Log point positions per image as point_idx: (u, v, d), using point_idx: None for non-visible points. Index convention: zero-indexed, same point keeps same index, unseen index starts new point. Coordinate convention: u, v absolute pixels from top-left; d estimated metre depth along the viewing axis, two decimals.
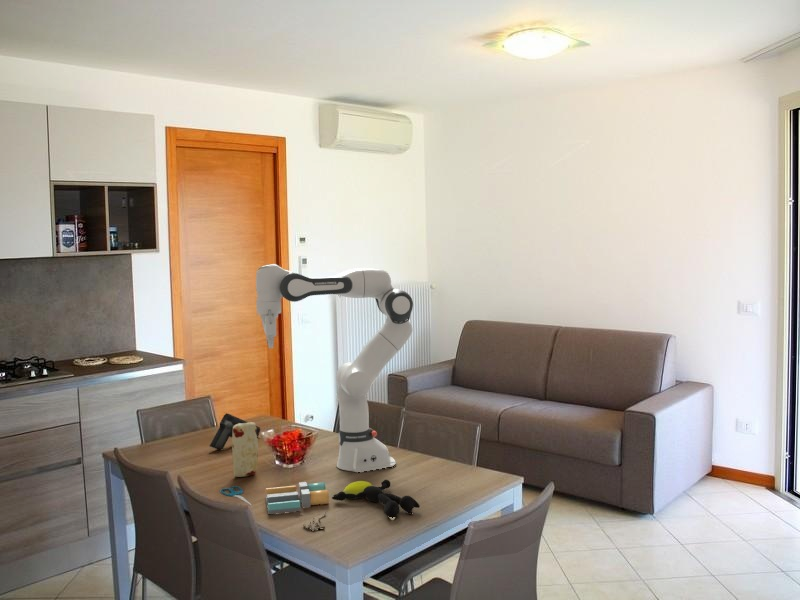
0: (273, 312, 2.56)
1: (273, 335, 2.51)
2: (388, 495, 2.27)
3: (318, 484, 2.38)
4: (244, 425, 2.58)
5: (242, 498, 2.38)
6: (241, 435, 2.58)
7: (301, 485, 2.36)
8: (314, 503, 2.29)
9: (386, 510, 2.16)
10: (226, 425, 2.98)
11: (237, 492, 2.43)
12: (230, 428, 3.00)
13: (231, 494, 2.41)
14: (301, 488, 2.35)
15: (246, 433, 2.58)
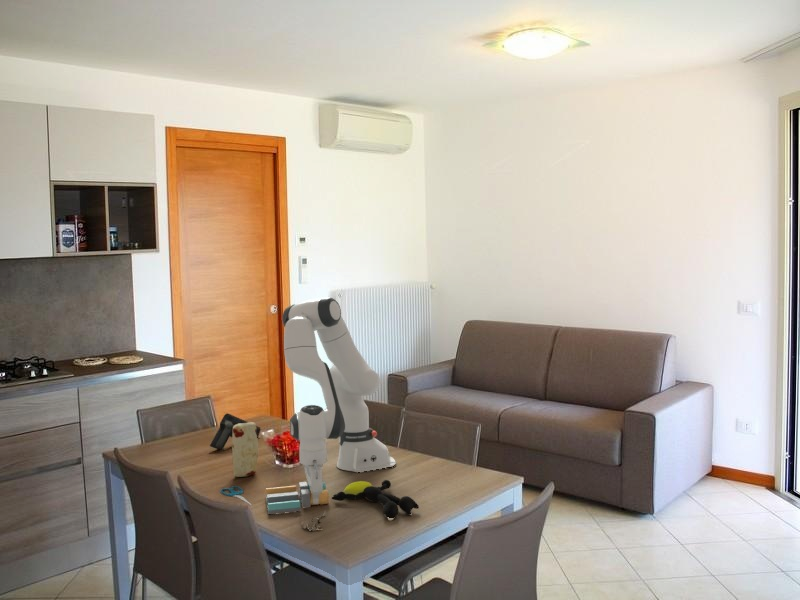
0: (318, 462, 2.26)
1: (319, 492, 2.21)
2: (387, 495, 2.26)
3: None
4: (244, 425, 2.58)
5: (242, 498, 2.38)
6: (241, 435, 2.58)
7: (301, 485, 2.36)
8: None
9: (385, 511, 2.16)
10: (226, 425, 2.98)
11: (237, 492, 2.43)
12: (230, 428, 3.00)
13: (231, 494, 2.41)
14: (301, 488, 2.35)
15: (246, 433, 2.58)
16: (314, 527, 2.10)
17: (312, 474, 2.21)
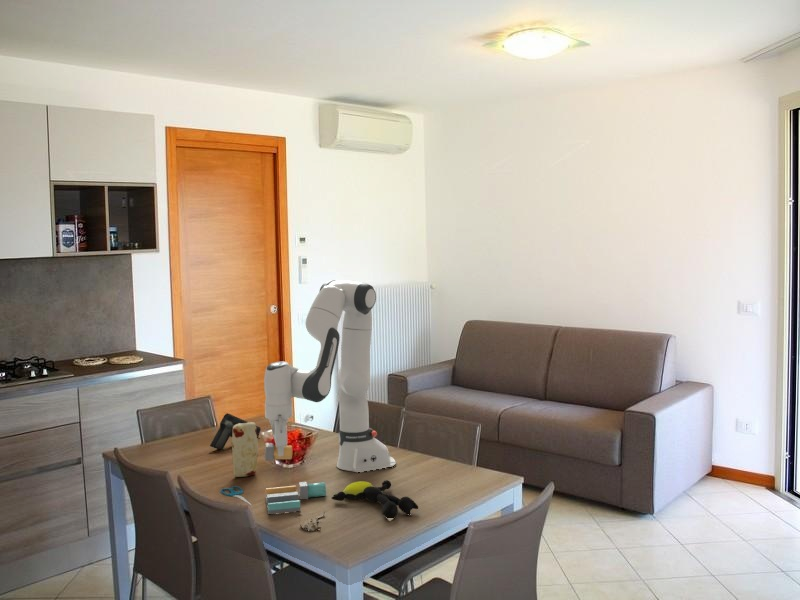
0: (283, 417, 2.29)
1: (284, 445, 2.24)
2: (387, 496, 2.26)
3: (318, 484, 2.38)
4: (244, 425, 2.58)
5: (242, 498, 2.38)
6: (241, 435, 2.58)
7: (301, 485, 2.36)
8: (277, 457, 2.32)
9: (384, 511, 2.16)
10: (226, 425, 2.99)
11: (237, 492, 2.43)
12: (230, 428, 3.00)
13: (231, 494, 2.41)
14: (301, 488, 2.35)
15: (246, 433, 2.58)
16: (312, 527, 2.10)
17: (277, 428, 2.24)
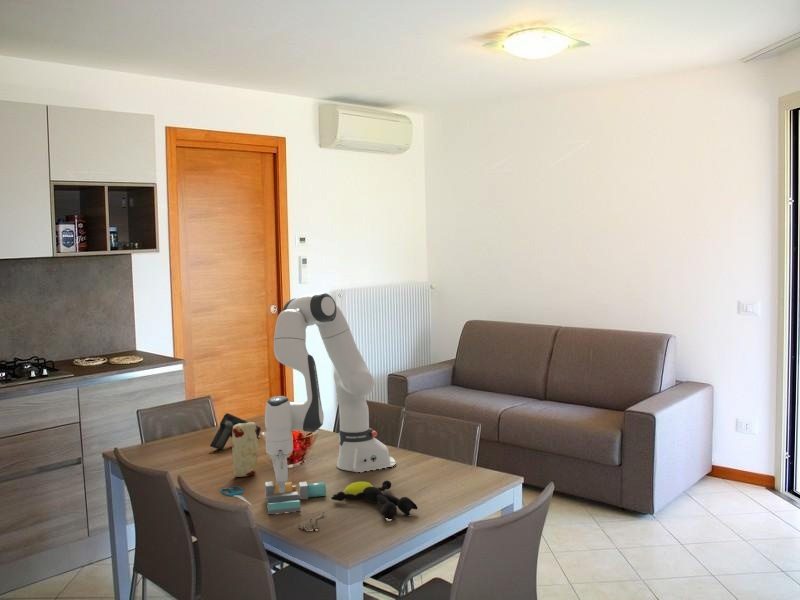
0: (284, 452, 2.30)
1: (284, 481, 2.25)
2: (386, 496, 2.26)
3: (318, 484, 2.38)
4: (244, 425, 2.58)
5: (242, 498, 2.38)
6: (241, 435, 2.58)
7: (301, 485, 2.36)
8: None
9: (383, 511, 2.15)
10: (226, 425, 2.99)
11: (237, 492, 2.43)
12: (230, 427, 3.00)
13: (231, 494, 2.41)
14: (301, 488, 2.35)
15: (246, 433, 2.58)
16: (311, 528, 2.10)
17: (277, 464, 2.25)
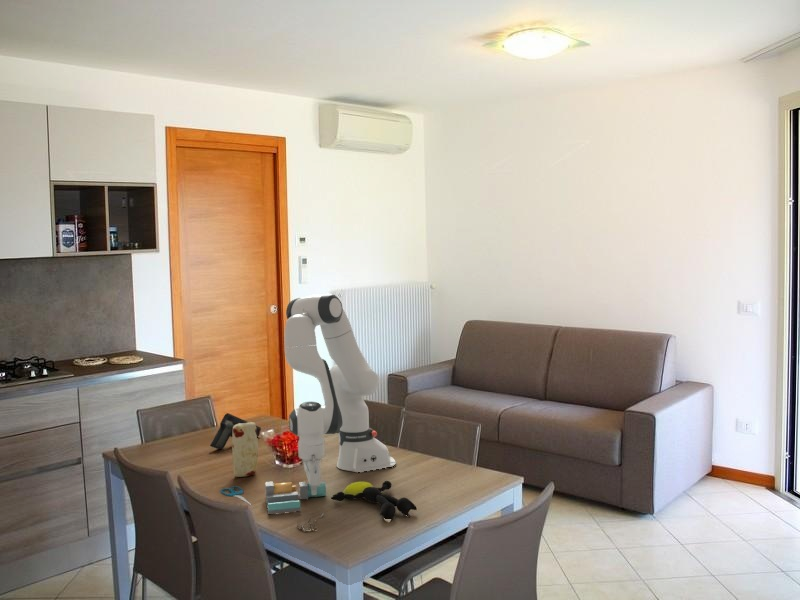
0: (317, 457, 2.34)
1: (318, 485, 2.29)
2: (386, 496, 2.26)
3: None
4: (244, 425, 2.58)
5: (242, 498, 2.38)
6: (241, 435, 2.58)
7: (301, 485, 2.36)
8: None
9: (381, 512, 2.15)
10: (227, 425, 2.99)
11: (237, 492, 2.43)
12: (230, 427, 3.01)
13: (231, 494, 2.41)
14: (301, 488, 2.35)
15: (246, 433, 2.58)
16: (309, 528, 2.10)
17: (311, 468, 2.28)
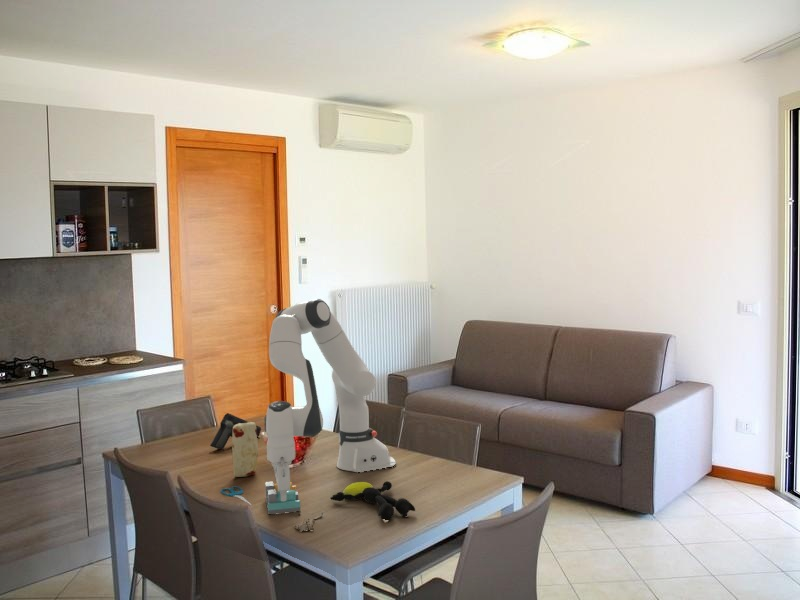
0: (286, 460, 2.22)
1: (286, 489, 2.17)
2: (385, 497, 2.25)
3: (288, 492, 2.26)
4: (244, 425, 2.58)
5: (242, 498, 2.38)
6: (241, 435, 2.58)
7: (270, 493, 2.25)
8: None
9: (380, 512, 2.14)
10: (227, 425, 2.99)
11: (237, 492, 2.43)
12: (230, 427, 3.01)
13: (231, 494, 2.41)
14: (270, 496, 2.24)
15: (246, 433, 2.58)
16: (306, 528, 2.10)
17: (279, 471, 2.17)
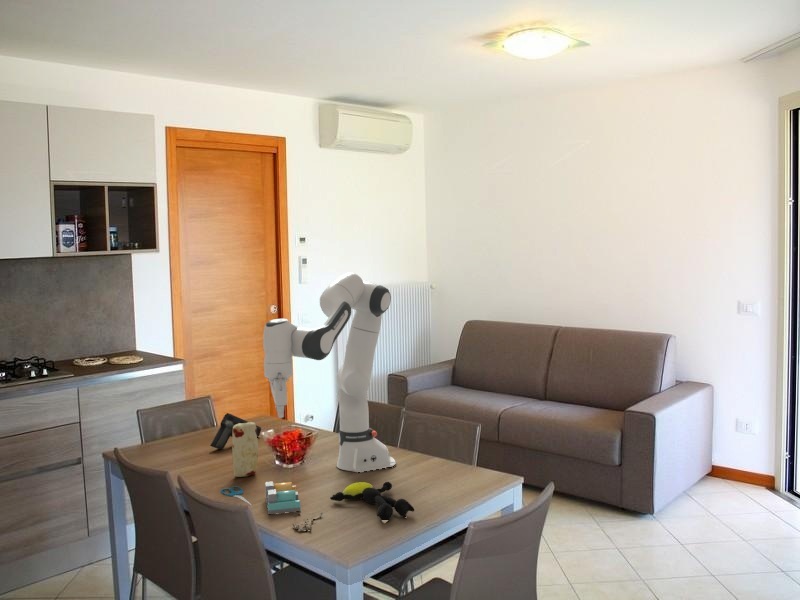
0: (283, 375, 2.20)
1: (283, 404, 2.15)
2: (384, 497, 2.25)
3: (288, 492, 2.26)
4: (244, 425, 2.58)
5: (242, 498, 2.38)
6: (241, 435, 2.58)
7: (270, 493, 2.25)
8: None
9: (378, 513, 2.14)
10: (227, 425, 2.99)
11: (237, 492, 2.43)
12: (230, 427, 3.01)
13: (231, 494, 2.41)
14: (270, 496, 2.24)
15: (246, 433, 2.58)
16: (304, 528, 2.10)
17: (276, 385, 2.15)
